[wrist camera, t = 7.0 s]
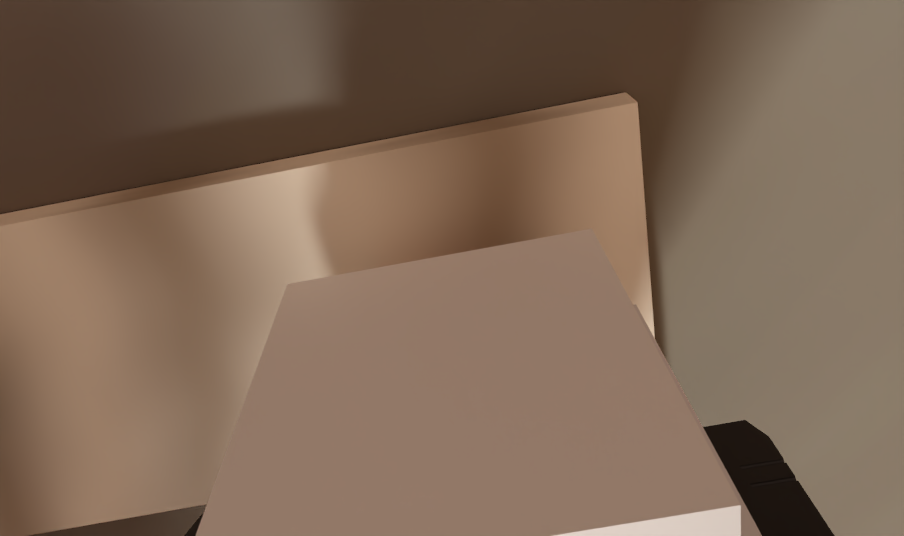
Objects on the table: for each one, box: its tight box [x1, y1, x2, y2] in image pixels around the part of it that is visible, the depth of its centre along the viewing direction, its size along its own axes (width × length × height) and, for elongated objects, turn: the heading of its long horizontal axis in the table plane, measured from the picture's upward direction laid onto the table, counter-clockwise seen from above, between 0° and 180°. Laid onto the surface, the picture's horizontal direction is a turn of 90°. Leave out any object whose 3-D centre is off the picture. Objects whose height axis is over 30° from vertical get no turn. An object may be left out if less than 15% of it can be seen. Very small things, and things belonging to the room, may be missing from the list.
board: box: [0, 92, 655, 536], centre depth 19 cm, size 24×9×1 cm, turn 101°
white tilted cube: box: [196, 229, 741, 536], centre depth 13 cm, size 6×6×8 cm
